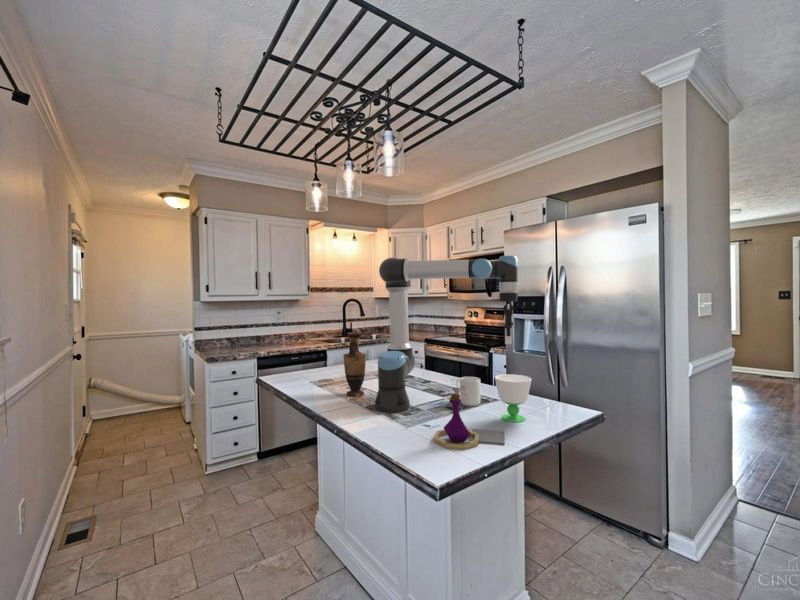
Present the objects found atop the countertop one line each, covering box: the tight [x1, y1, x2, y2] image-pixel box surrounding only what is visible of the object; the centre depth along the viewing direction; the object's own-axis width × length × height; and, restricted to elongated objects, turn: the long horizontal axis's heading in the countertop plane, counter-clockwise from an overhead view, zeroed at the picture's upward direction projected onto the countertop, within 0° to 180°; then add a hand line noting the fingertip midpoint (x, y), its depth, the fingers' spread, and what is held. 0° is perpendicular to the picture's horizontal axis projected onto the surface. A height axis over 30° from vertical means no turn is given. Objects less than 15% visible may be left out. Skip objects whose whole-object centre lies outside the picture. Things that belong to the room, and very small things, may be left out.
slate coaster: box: [469, 428, 506, 446], centre depth 134 cm, size 11×11×1 cm
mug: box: [455, 376, 481, 407], centre depth 174 cm, size 12×9×11 cm
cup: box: [494, 373, 532, 423], centre depth 153 cm, size 14×14×16 cm
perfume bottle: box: [443, 386, 470, 443], centre depth 132 cm, size 8×8×18 cm
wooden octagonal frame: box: [433, 428, 479, 451], centre depth 132 cm, size 14×14×2 cm
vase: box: [343, 331, 367, 398], centre depth 190 cm, size 11×11×30 cm
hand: (508, 341), depth 169 cm, fingers open, 13 cm apart
